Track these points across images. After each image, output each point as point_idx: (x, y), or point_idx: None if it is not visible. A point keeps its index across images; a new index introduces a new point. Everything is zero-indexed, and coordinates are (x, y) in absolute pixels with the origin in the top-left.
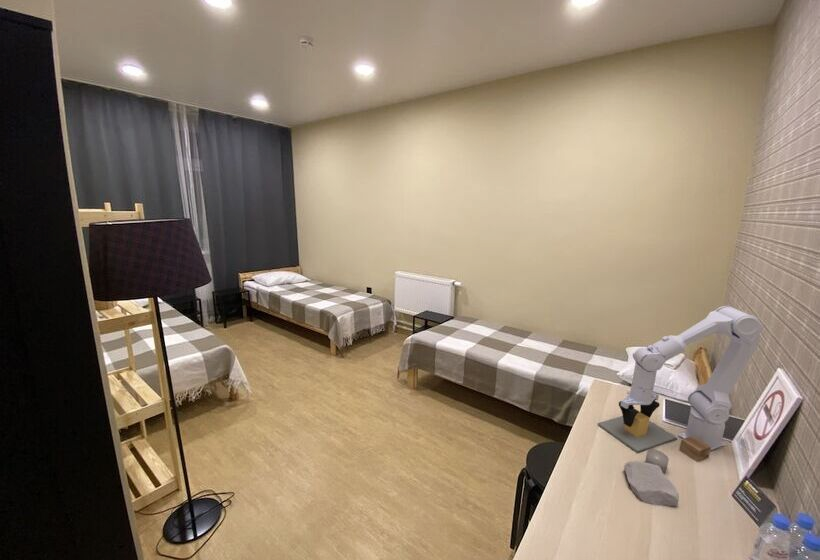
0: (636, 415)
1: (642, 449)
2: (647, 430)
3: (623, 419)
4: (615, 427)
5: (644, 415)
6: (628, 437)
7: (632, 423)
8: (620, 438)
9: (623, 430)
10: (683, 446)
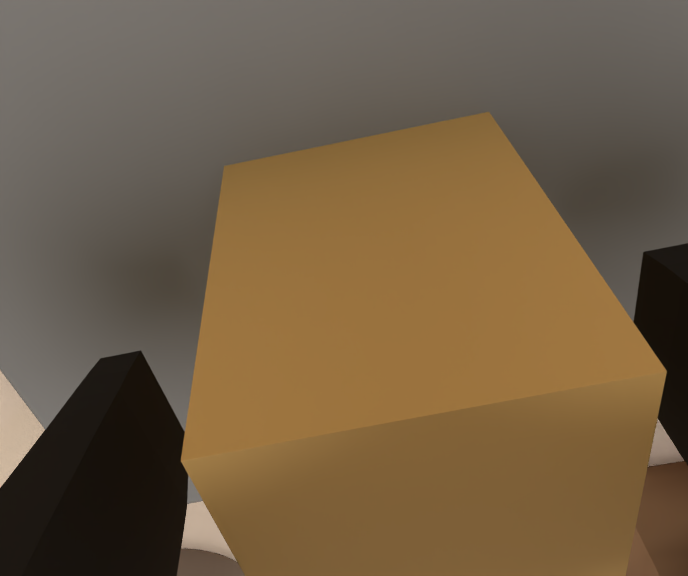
0: (380, 556)
1: (192, 500)
2: (596, 252)
3: (49, 429)
4: (64, 124)
5: (597, 551)
6: (151, 352)
7: (181, 529)
8: (6, 361)
9: (179, 213)
10: (636, 555)
